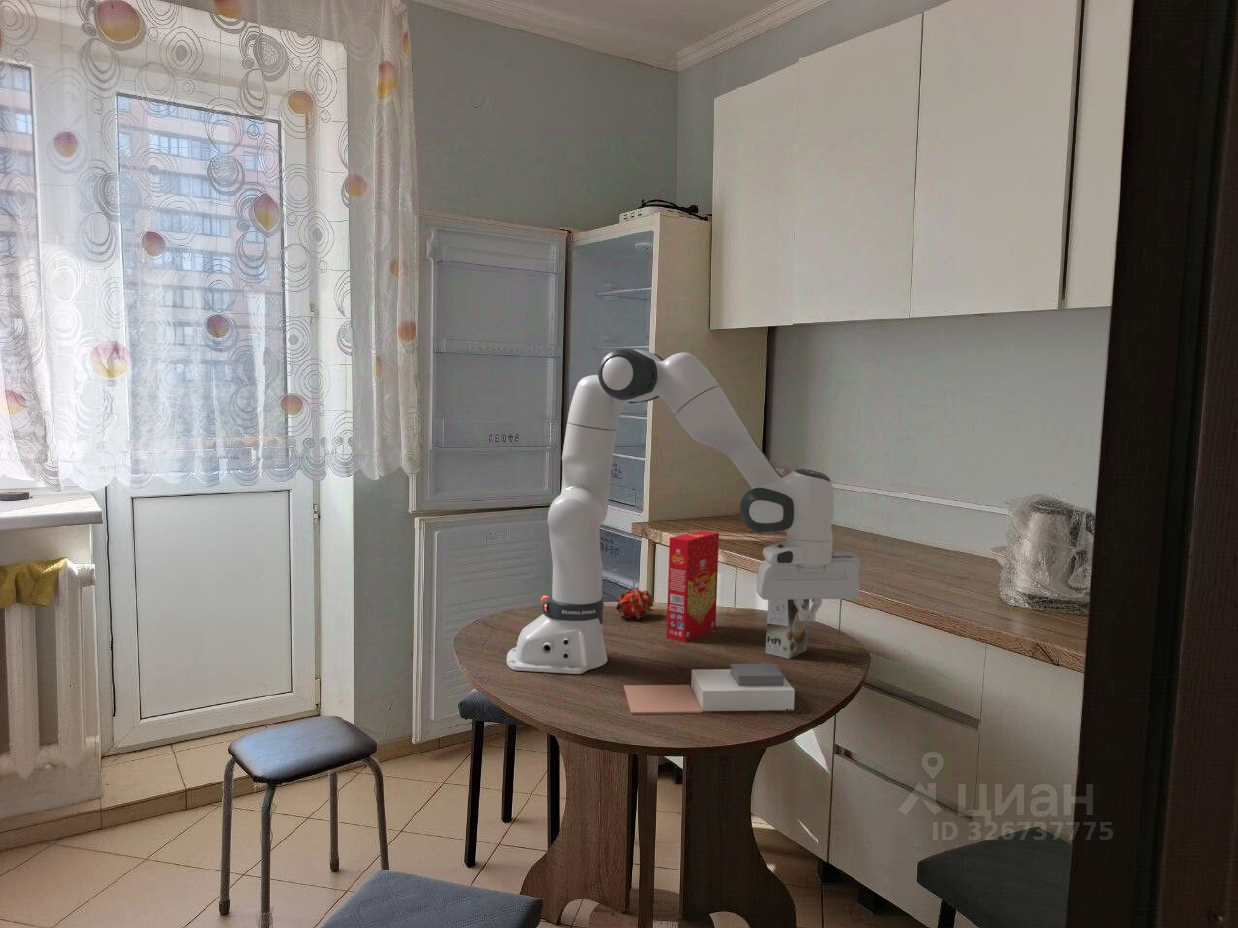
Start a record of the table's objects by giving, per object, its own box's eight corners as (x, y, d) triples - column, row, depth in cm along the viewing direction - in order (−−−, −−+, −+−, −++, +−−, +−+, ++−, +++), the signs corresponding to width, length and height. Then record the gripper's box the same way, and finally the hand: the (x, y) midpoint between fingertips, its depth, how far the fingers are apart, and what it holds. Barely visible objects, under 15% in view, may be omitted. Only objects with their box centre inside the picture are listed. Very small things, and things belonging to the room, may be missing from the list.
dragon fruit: (656, 620, 226) (619, 633, 220) (639, 597, 231) (603, 609, 225) (665, 600, 221) (627, 613, 214) (648, 577, 226) (611, 588, 219)
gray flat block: (738, 685, 163) (738, 675, 163) (730, 673, 170) (730, 663, 169) (783, 685, 164) (784, 675, 163) (773, 673, 171) (774, 663, 170)
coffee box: (789, 659, 192) (792, 591, 190) (764, 653, 196) (767, 586, 194) (807, 650, 199) (810, 584, 197) (783, 644, 203) (786, 579, 201)
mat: (631, 714, 158) (631, 711, 158) (623, 687, 171) (624, 685, 171) (702, 713, 159) (702, 711, 159) (689, 686, 173) (689, 684, 173)
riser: (702, 711, 160) (703, 690, 160) (691, 688, 172) (691, 669, 171) (793, 709, 162) (794, 689, 161) (776, 687, 174) (777, 668, 173)
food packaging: (684, 642, 203) (688, 540, 200) (666, 637, 206) (669, 537, 203) (715, 628, 214) (719, 532, 212) (697, 624, 218) (701, 530, 215)
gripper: (854, 548, 169) (851, 615, 170) (755, 549, 167) (753, 616, 169) (866, 554, 163) (863, 623, 164) (763, 555, 161) (761, 625, 162)
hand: (806, 620), depth 166 cm, fingers closed
